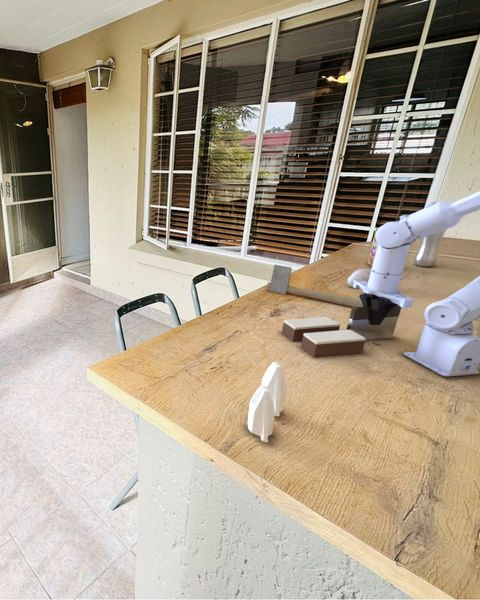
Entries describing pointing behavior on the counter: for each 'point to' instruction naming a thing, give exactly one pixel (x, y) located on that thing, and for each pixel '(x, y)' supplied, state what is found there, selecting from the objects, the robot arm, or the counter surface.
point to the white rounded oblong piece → (359, 276)
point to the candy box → (373, 250)
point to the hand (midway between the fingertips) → (372, 323)
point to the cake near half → (333, 343)
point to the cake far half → (308, 327)
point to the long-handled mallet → (282, 286)
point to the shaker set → (267, 402)
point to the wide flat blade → (362, 326)
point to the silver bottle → (429, 249)
